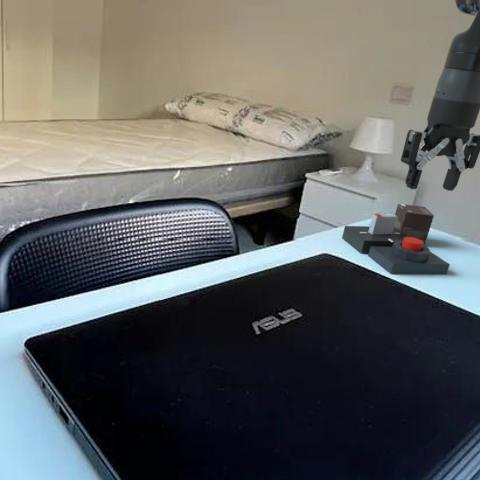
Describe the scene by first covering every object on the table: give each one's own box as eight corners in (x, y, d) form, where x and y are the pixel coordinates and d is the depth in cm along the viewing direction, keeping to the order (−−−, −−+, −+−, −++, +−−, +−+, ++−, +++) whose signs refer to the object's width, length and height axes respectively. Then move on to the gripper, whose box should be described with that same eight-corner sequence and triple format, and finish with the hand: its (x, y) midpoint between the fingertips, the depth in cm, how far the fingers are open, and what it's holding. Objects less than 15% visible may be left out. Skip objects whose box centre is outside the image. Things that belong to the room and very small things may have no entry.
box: (424, 247, 109) (435, 215, 106) (396, 243, 109) (405, 211, 107) (416, 236, 114) (425, 206, 111) (388, 233, 115) (397, 203, 112)
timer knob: (388, 231, 107) (393, 213, 105) (392, 234, 106) (397, 215, 104) (368, 232, 106) (373, 213, 104) (372, 234, 104) (377, 215, 103)
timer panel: (389, 238, 112) (393, 225, 111) (414, 255, 104) (419, 241, 102) (340, 237, 110) (343, 224, 109) (362, 255, 102) (366, 241, 100)
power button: (413, 244, 99) (416, 236, 99) (425, 252, 96) (428, 244, 95) (397, 244, 99) (400, 236, 98) (408, 252, 95) (411, 244, 95)
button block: (420, 256, 104) (426, 239, 102) (446, 274, 96) (452, 255, 95) (367, 256, 101) (372, 238, 100) (390, 274, 94) (396, 255, 93)
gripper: (435, 97, 82) (407, 194, 88) (510, 103, 84) (478, 196, 91) (407, 91, 88) (383, 181, 95) (478, 97, 91) (449, 184, 97)
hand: (429, 188), depth 93 cm, fingers open, 7 cm apart
